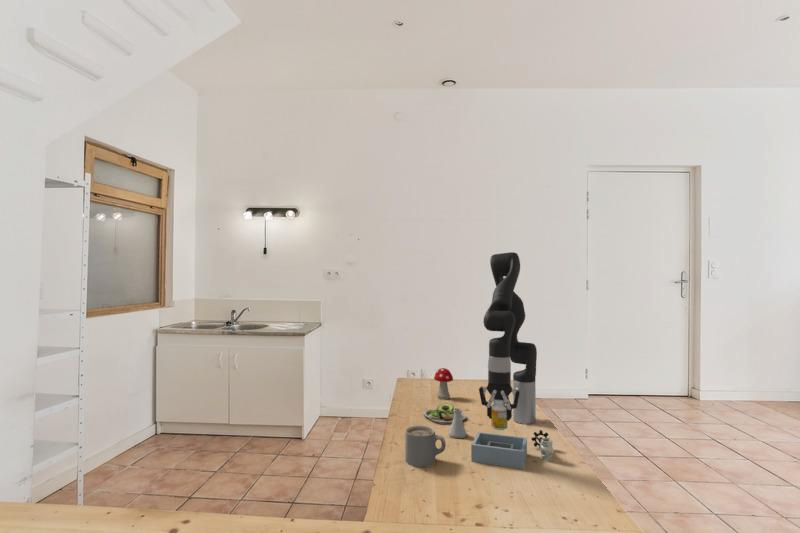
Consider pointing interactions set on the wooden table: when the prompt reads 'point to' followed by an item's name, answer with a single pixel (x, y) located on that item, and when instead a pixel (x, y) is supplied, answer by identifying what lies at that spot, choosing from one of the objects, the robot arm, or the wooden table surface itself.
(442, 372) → the decorative mushroom
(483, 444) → the walled box
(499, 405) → the supplement bottle
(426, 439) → the coffee mug
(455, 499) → the wooden table surface
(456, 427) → the flask
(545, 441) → the valve
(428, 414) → the salad plate
